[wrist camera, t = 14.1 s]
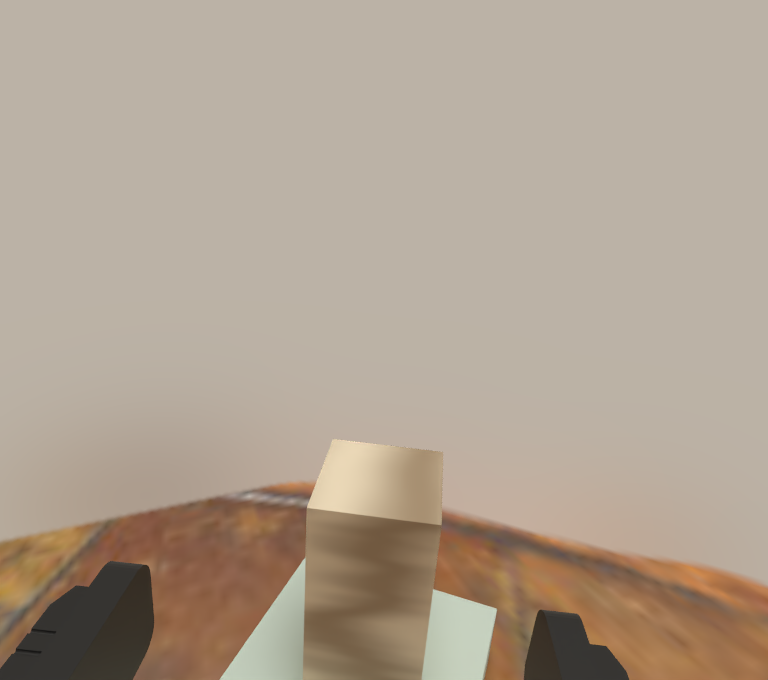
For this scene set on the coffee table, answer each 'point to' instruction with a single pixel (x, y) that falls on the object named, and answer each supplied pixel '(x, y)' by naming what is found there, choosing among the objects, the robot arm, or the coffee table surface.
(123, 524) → the coffee table surface
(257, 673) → the sage base block
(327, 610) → the maple pillar block
